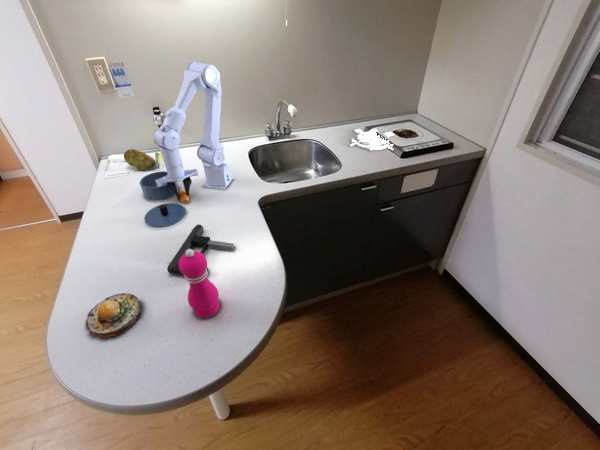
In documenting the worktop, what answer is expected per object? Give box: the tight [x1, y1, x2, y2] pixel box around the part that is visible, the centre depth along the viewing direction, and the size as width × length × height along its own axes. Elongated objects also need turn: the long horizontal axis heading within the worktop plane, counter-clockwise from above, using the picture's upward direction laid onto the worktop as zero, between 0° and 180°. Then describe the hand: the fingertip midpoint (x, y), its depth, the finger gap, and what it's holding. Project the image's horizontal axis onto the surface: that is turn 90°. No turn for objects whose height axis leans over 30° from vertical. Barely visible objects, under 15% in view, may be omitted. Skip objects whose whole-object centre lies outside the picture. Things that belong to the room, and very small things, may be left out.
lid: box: [144, 202, 187, 228], centre depth 106 cm, size 14×14×5 cm
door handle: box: [166, 224, 235, 276], centre depth 92 cm, size 3×20×16 cm
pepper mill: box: [179, 248, 220, 319], centre depth 71 cm, size 7×7×20 cm
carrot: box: [178, 189, 190, 204], centre depth 115 cm, size 8×3×3 cm, turn 33°
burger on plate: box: [85, 292, 143, 339], centre depth 73 cm, size 12×12×8 cm
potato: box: [123, 148, 157, 171], centre depth 134 cm, size 8×13×8 cm, turn 60°
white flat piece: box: [349, 128, 395, 152], centre depth 159 cm, size 21×28×1 cm
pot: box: [139, 170, 180, 202], centre depth 118 cm, size 13×13×6 cm
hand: (183, 196), depth 115 cm, fingers closed on carrot, 3 cm apart
